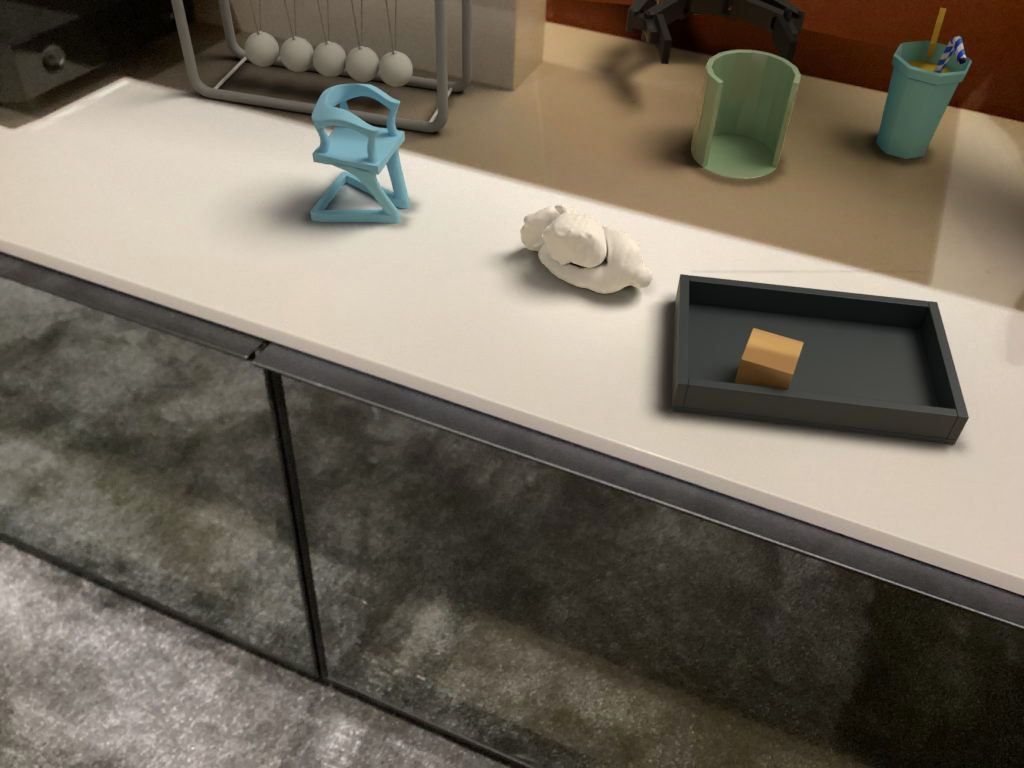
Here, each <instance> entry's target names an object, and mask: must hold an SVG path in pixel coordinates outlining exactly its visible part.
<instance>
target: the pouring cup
mask: <svg viewBox="0 0 1024 768" xmlns="http://www.w3.org/2000/svg"><path fill="white" fill-rule="evenodd" d="M801 79H802V74H801V72H800V71H799V68H798V67H797V66H796V65H795V64H793V62H792V63H790V62H789V61H788V60H785V59H784V58H782V57H780V55H777V54H774V53H770V52H766V51H762V50H756V49H729V50H725V51H721V52H718V53H716V54H715V55H713V56H711V57H710V58H708V60H707V63H706V64H705V67H704V74H703V78H702V84H701V90H700V95H699V99H698V104H697V105H698V106H697V112H696V115H695V116H696V117H695V123H694V128H693V133H692V138H691V145H690V152H691V156H692V158H693V159H694V161H695V162H696V164H698V165H699V166H700V167H702V168H703V169H705V170H706V171H708V172H711V173H713V174H716V175H718V176H722V177H725V178H731V179H738V180H739V179H742V180H746V179H748V180H749V179H757V178H761V177H765V176H767V175H769V174H771V173H772V172H774V171H775V170H776V169H777V168H778V166H779V163H780V160H781V157H782V153H783V148H784V145H785V142H786V137H787V135H788V134H787V133H788V129H789V127H790V126H789V125H790V121H791V117H792V114H793V110H794V107H795V102H796V98H797V95H798V90H799V87H800V83H801Z"/></svg>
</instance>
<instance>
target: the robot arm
mask: <svg viewBox="0 0 1024 768" xmlns="http://www.w3.org/2000/svg"><path fill="white" fill-rule="evenodd" d="M806 13H807V12H806V11H805V10H803V9H801V8H800V7H798V6H796V5H795V4H794V3H792V2H790V1H788V0H634V1H633V3H631V5H630V6H629V7H628V8H627V16H626V17H627V18H626V25H625V31H626V32H627V33H632V34H633V33H636V32H637V31H638V30H639V31H641V41H642V42H646V43H647V44H648V45H654V46H655V48H656V51H657V56H658V58H659V61H660V64H661V65H669V64H670V63H669V61H670V56H671V51H672V50H671V49H672V42H673V40H672V39H673V38H672V36H671V34H670V30H669V27H668V25H670V24H672V23H673V22H675V21H676V20H680V21H682V20H684V19H685V18H687V17H689V16H694V15H693V14H703V15H707V14H708V15H712V16H719V17H722V18H724V19H726V20H729V21H731V22H733V21H736V20H739V21H741V22H745V23H746V24H749V25H751V26H753V27H755V28H758V29H760V30H762V31H764V32H767V33H769V34H771V38H770V39H771V41H772V43H773V45H774V47H775V49H776V51H777V53H778V54H779V55H778V56H779V57H782V58H784V59H785V60H788V61H789V62H790V63H792V64H793V62H794V58H795V53H796V51H797V46H798V40H797V36H799V35H801V33H802V30H803V26H804V22H805V18H806Z"/></svg>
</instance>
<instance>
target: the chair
mask: <svg viewBox="0 0 1024 768" xmlns="http://www.w3.org/2000/svg"><path fill="white" fill-rule="evenodd" d="M359 97H368V98H371V99H373V100H374V101H377V102H379V103H380V104H381V105H383V106H385V107H386V108H387V109H388V110H389V112H388V114H387V116H388V119H387V126H386V127H377V126H374V125H372V124H370V123H366V122H365V121H363V120H362V119H360V118H359V117H357V116H356V115H354V114H352V113H351V112H349V110H350V109H349V106H348V102H347V101H349V100H351V99H354V98H359ZM315 104H316V105H315V108H314V110H313V113H312V114H311V121H312V125H313V126H314V128H315V130H316V132H317V133H318V136H319V140H320V141H319V145H318V146H317V147H316V148H315V150H314V151H313V152H312V154H311V155H312V161H313V162H312V163H317V164H322V165H329V166H333V167H335V168H338V169H340V170H343V171H341V172H340V173H339V174H338V175H337V177H336V178H335V180H334V181H333V182H332V184H330V185H329V187H328V188H327V189H326V191H325V192H324V193H323V195H322V196H321V197H320V199H319V200H318V201H317V202H316V204H315V205H314V206H313V207H312V208H311V209H310V212H309V213H310V219H311V221H313V222H321V223H382V224H384V223H385V224H399V223H401V221H402V218H401V213H400V211H399V209H402V210H409V209H410V208H411V201H410V197H409V192H408V189H407V188H408V187H407V184H406V180H405V177H404V173H403V169H402V163H401V158H400V151H399V150H400V147H401V146H402V145H403V143H405V141H406V135H405V133H406V132H405V131H404V130H398V128H396V126H395V119H396V117H397V113H398V109H399V107H400V104H401V100H399V99H396V98H393V97H392V96H391V95H389V94H387V93H386V92H385V91H383V90H382V89H380V88H379V87H377V86H375V85H373V84H370V83H344V84H337V85H333V86H330V87H328V88H326V89H324V90H323V91H322V93H321V94H320V96H319V98H318V99H317V101H316V103H315ZM337 105H339V107H337ZM333 126H335V127H334V128H333V129H332V131H330V133H329V134H328V132H327V130H326V129H325V128H327V127H333ZM385 167H386V168H387V172H388V175H389V179H390V184H391V188H392V190H390V189H388V188H387V187H386V188H385V187H384V186H381V184H380V182H379V180H378V178H377V175H378V176H379V175H380V174H381V173H382V171H383V170H384V168H385ZM345 184H348V185H351V186H352V187H355V188H357V189H359V190H361V191H363V192H365V193H367V194H369V195H370V196H372V197H373V198H374V199H375V200H376V202H377V204H378V205H379V206H380V207H381V208H366V209H365V208H363V209H361V208H359V209H327V208H328V206H329V204H330V203H331V202H332V200H333V199H334V198H335V197H336V195H337V194H338V193H339V191H340V190H341V189H342V188H343V186H344V185H345ZM398 208H399V209H398Z"/></svg>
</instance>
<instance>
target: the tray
mask: <svg viewBox="0 0 1024 768" xmlns="http://www.w3.org/2000/svg"><path fill="white" fill-rule="evenodd" d="M673 319H674V323H673V325H674V326H673V353H672V354H673V355H672V356H673V357H672V359H673V360H672V365H673V366H672V389H671V390H672V393H671V411H673V412H680V413H688V414H697V415H706V416H713V417H722V418H732V419H738V420H748V421H755V422H764V423H772V424H780V425H788V426H798V427H805V428H812V429H813V428H814V429H823V430H831V431H837V432H838V431H839V432H847V433H856V434H864V435H872V436H881V437H889V438H897V439H906V440H915V441H923V442H931V443H939V444H947V445H956V443H957V441H958V439H959V437H960V435H961V434H962V432H963V430H964V428H965V426H966V425H967V422H968V420H969V419H970V416H969V413H968V409H967V405H966V402H965V398H964V394H963V391H962V388H961V387H962V386H961V384H960V380H959V377H958V373H957V369H956V366H955V365H956V364H955V361H954V358H953V354H952V351H951V347H950V344H949V340H948V335H947V333H946V329H945V325H944V322H943V318H942V315H941V311H940V307H939V304H938V302H937V301H933V300H932V301H931V300H923V299H922V300H921V299H913V298H903V297H896V296H885V295H875V294H868V293H859V292H858V293H857V292H849V291H838V290H829V289H822V288H821V289H820V288H811V287H803V286H793V285H786V284H785V285H783V284H774V283H765V282H757V281H749V280H748V281H747V280H737V279H728V278H719V277H710V276H700V275H691V274H682V273H680V274H679V278H678V284H677V288H676V295H675V300H674V318H673ZM753 328H756V329H759V330H763V331H766V332H770V333H773V334H776V335H780V336H783V337H787V338H790V339H794V340H797V341H801V342H804V344H803V347H802V350H801V353H800V356H799V359H798V362H797V365H796V368H795V371H794V374H793V377H792V380H791V383H790V386H789V389H788V390H787V389H779V388H770V387H761V386H753V385H744V384H736V383H735V379H736V376H737V372H738V368H739V365H740V361H741V358H742V355H743V353H744V350H745V348H746V345H747V342H748V340H749V337H750V335H751V332H752V330H753Z"/></svg>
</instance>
